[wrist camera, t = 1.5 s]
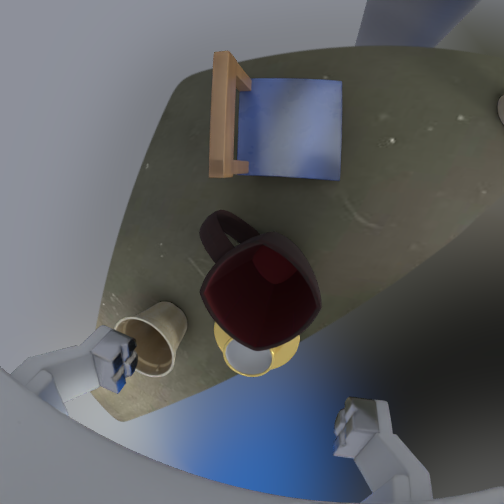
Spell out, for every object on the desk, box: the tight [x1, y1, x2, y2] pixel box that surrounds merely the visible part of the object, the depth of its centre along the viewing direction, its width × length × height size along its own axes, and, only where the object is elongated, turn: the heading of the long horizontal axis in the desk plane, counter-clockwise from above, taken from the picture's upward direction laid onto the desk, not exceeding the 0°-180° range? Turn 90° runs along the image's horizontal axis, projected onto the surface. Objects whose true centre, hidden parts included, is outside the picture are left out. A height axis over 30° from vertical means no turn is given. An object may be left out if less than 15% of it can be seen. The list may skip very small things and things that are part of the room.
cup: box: [214, 322, 300, 377], centre depth 38 cm, size 12×12×5 cm
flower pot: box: [114, 302, 187, 377], centre depth 40 cm, size 9×9×9 cm
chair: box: [209, 51, 342, 181], centre depth 26 cm, size 10×10×15 cm
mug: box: [199, 210, 322, 351], centre depth 32 cm, size 10×14×12 cm
